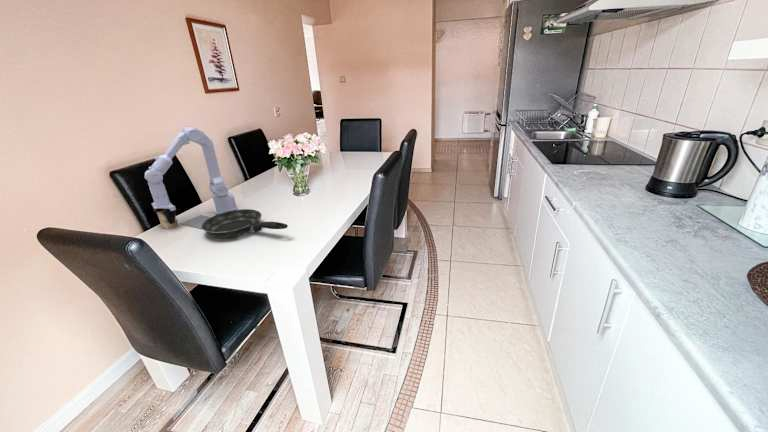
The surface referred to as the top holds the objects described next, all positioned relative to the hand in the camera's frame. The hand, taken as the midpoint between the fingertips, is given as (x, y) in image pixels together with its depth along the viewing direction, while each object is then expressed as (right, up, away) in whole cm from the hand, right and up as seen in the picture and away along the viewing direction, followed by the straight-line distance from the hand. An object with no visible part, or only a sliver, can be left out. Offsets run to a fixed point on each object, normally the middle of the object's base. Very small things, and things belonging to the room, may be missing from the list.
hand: (169, 222), depth 148 cm
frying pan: (+40, -4, -7) cm, 41 cm away
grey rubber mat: (+14, 0, +4) cm, 14 cm away
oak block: (0, -2, +1) cm, 2 cm away
